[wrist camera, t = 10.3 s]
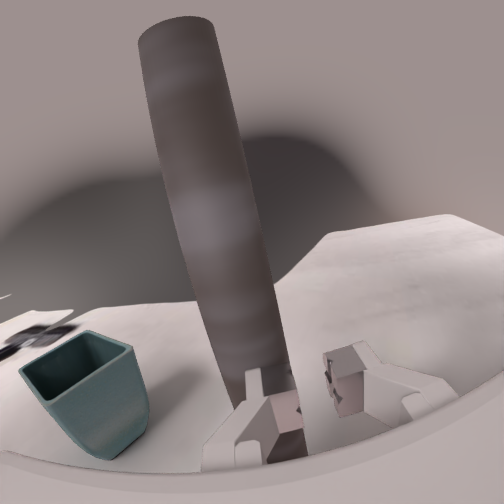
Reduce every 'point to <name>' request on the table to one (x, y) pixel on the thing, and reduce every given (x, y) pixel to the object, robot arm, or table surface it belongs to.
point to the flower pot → (92, 392)
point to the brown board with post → (214, 205)
